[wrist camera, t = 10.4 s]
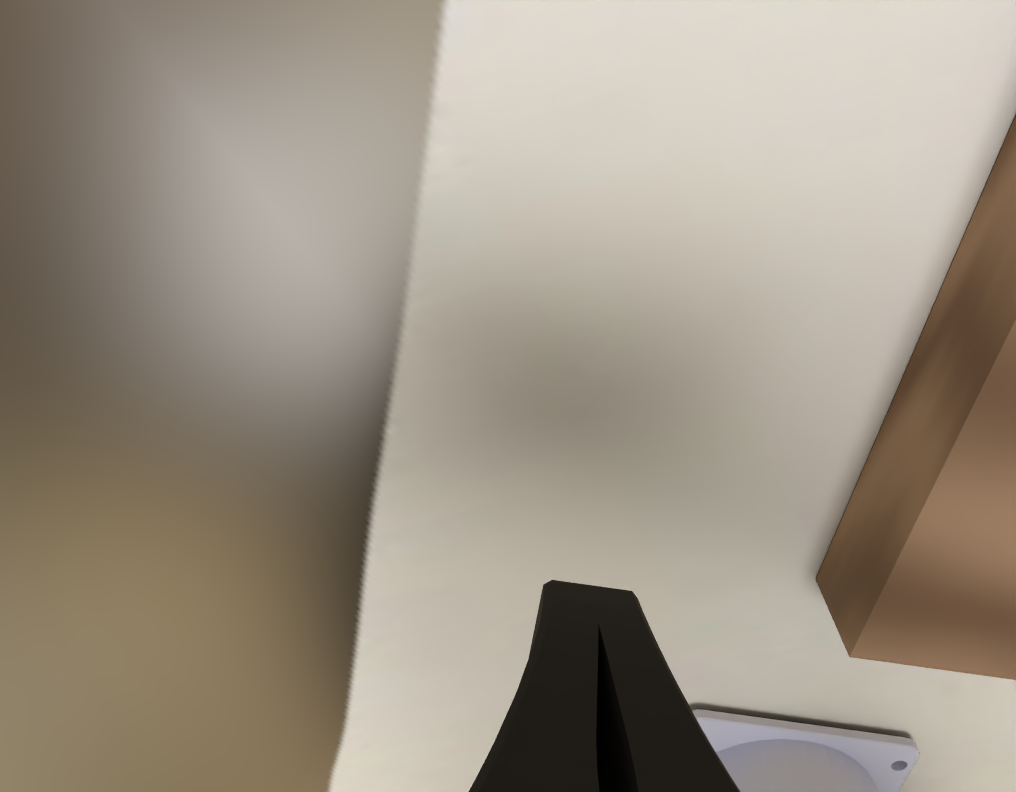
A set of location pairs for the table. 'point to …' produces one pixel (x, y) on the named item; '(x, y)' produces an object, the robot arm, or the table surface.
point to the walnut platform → (943, 475)
